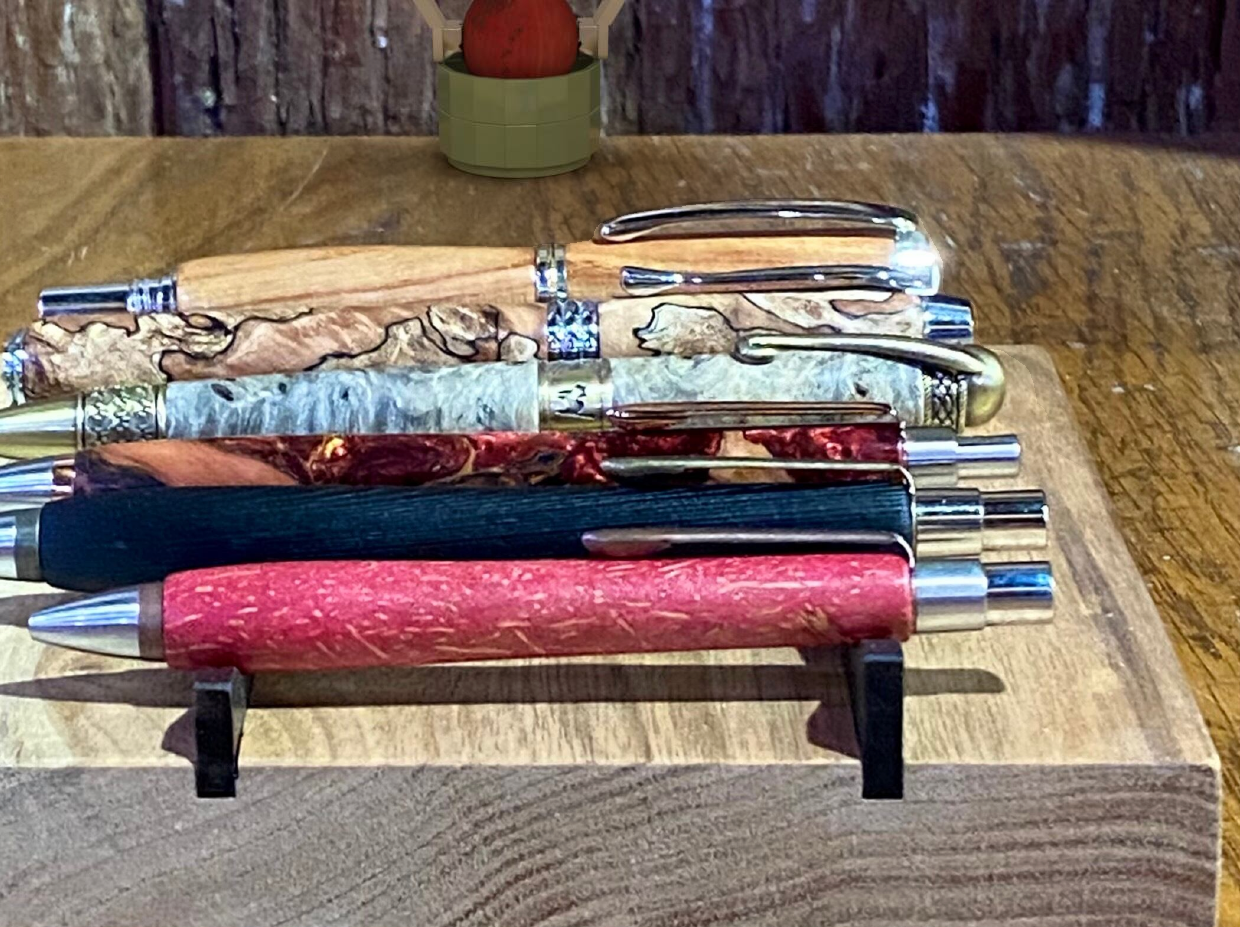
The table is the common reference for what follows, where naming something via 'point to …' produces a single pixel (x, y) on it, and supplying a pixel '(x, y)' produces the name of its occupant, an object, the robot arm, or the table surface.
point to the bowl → (519, 121)
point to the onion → (519, 38)
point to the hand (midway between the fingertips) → (519, 59)
